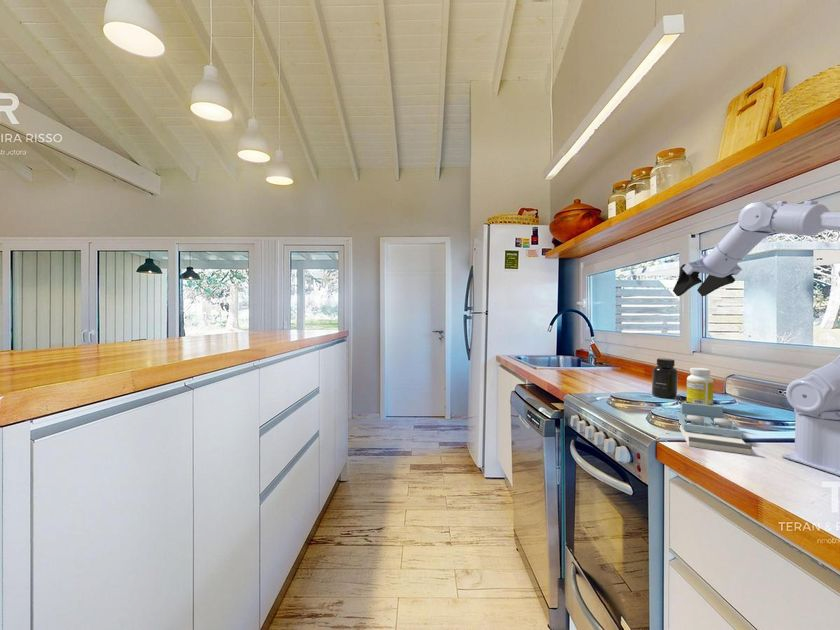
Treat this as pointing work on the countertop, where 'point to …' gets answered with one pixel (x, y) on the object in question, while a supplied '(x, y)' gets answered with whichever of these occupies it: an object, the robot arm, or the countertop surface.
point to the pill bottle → (700, 387)
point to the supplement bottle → (665, 379)
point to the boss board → (715, 437)
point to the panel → (705, 419)
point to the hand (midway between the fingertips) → (688, 293)
